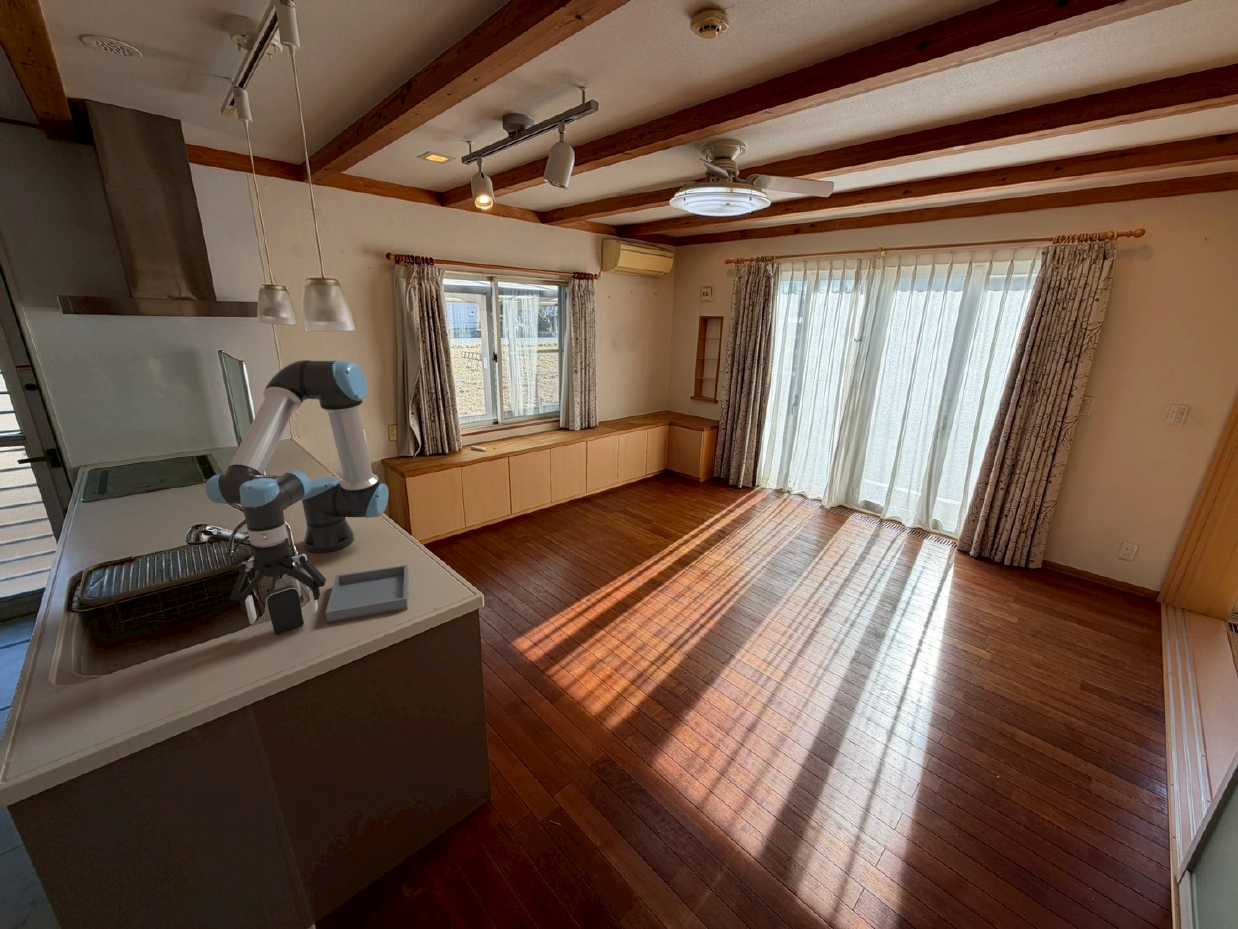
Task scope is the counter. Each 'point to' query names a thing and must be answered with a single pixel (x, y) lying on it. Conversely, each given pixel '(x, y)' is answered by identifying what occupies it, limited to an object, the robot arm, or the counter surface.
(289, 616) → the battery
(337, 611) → the tray
